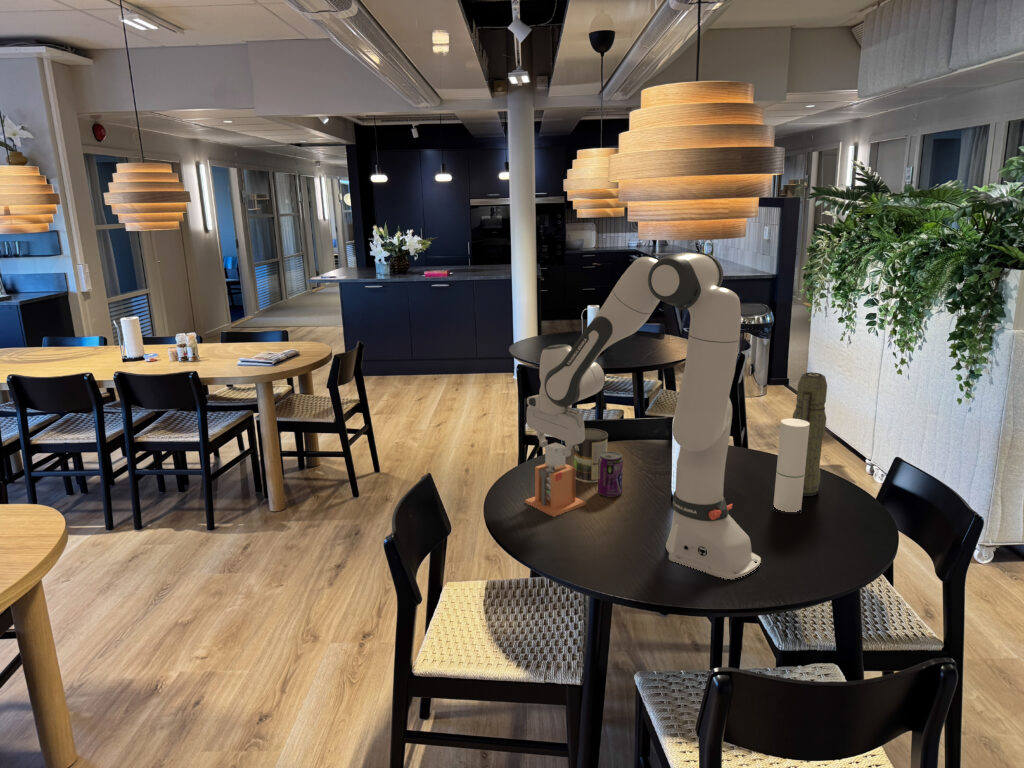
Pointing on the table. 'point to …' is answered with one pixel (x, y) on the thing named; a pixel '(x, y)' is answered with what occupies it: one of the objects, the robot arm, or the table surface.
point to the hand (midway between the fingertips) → (554, 450)
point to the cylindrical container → (791, 464)
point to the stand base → (555, 491)
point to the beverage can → (610, 474)
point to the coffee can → (589, 455)
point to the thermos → (812, 423)
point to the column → (553, 462)
